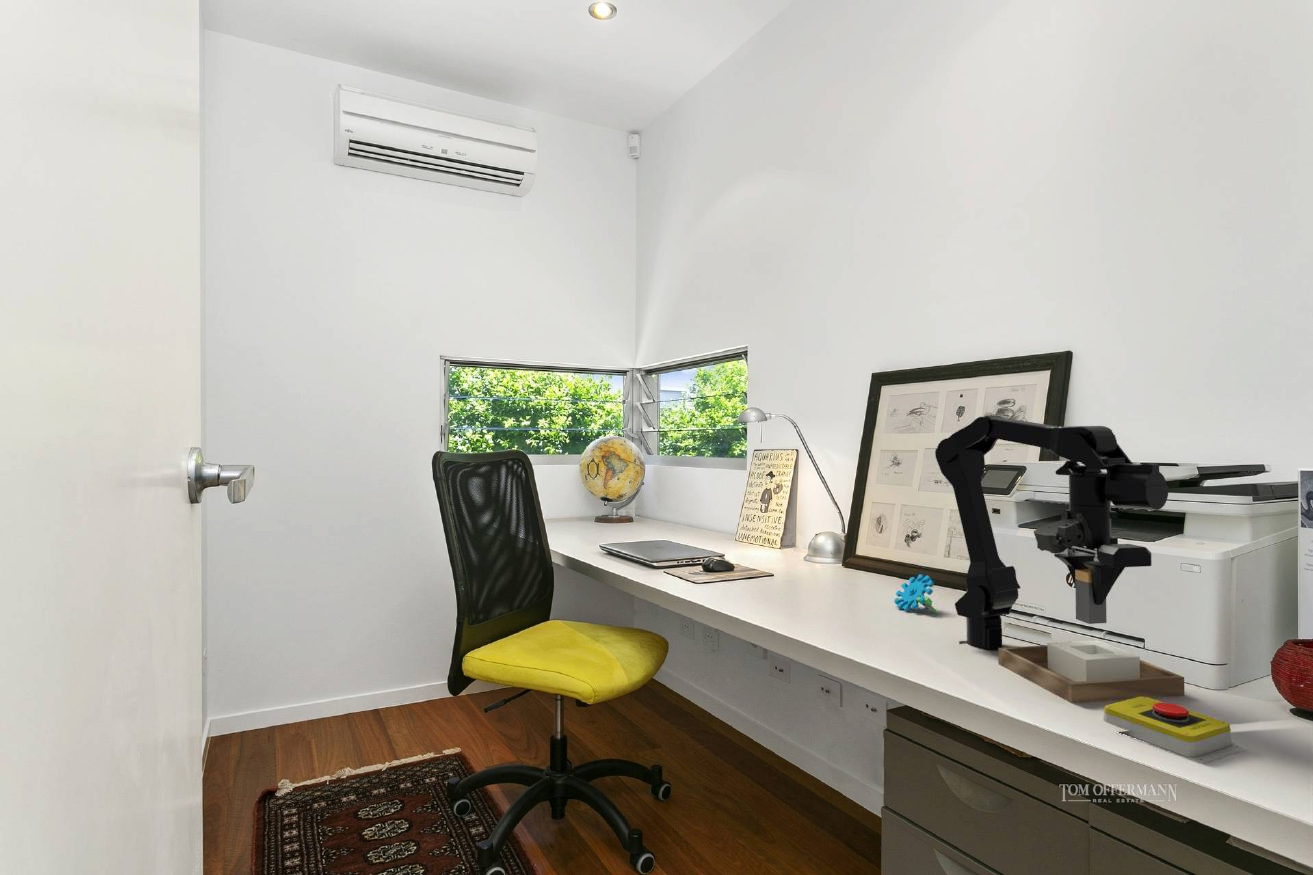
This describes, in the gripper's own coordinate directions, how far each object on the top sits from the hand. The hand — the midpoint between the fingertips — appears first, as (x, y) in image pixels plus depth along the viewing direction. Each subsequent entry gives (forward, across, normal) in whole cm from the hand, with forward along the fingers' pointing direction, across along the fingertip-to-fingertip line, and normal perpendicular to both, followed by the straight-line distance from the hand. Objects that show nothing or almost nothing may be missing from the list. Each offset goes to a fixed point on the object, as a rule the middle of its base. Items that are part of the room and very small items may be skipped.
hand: (1090, 601), depth 117 cm
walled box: (+13, +1, -2) cm, 13 cm away
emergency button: (+13, +20, -5) cm, 25 cm away
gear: (+13, -49, -5) cm, 51 cm away
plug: (+3, 0, 0) cm, 3 cm away
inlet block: (+12, 0, 0) cm, 12 cm away
